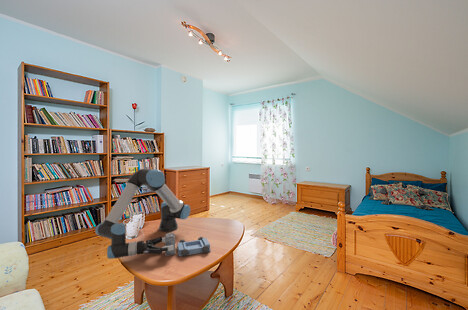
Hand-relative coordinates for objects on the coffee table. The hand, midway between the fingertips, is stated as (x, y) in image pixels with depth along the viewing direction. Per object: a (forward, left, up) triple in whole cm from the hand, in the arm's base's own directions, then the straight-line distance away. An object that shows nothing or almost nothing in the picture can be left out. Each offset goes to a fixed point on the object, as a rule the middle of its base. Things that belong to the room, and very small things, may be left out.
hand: (172, 242), depth 136 cm
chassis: (0, +13, -6) cm, 15 cm away
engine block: (0, -2, -6) cm, 7 cm away
